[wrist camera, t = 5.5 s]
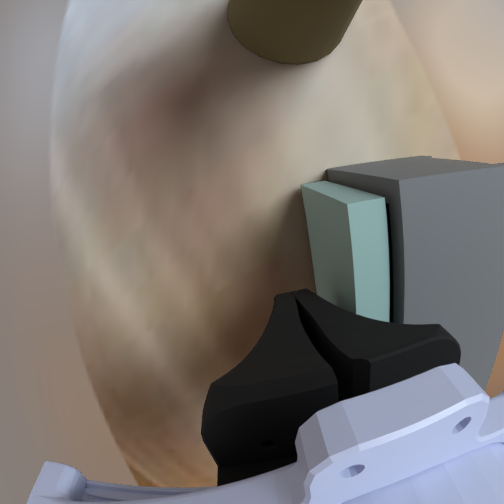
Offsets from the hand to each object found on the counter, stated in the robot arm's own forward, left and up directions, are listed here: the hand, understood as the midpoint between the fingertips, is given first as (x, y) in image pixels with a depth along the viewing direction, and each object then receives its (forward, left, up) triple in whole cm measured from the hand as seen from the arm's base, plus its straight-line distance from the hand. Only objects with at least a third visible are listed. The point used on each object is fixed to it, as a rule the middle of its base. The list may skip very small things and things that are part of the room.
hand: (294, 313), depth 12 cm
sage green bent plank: (-1, -2, -4) cm, 4 cm away
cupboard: (-2, -6, -4) cm, 7 cm away
